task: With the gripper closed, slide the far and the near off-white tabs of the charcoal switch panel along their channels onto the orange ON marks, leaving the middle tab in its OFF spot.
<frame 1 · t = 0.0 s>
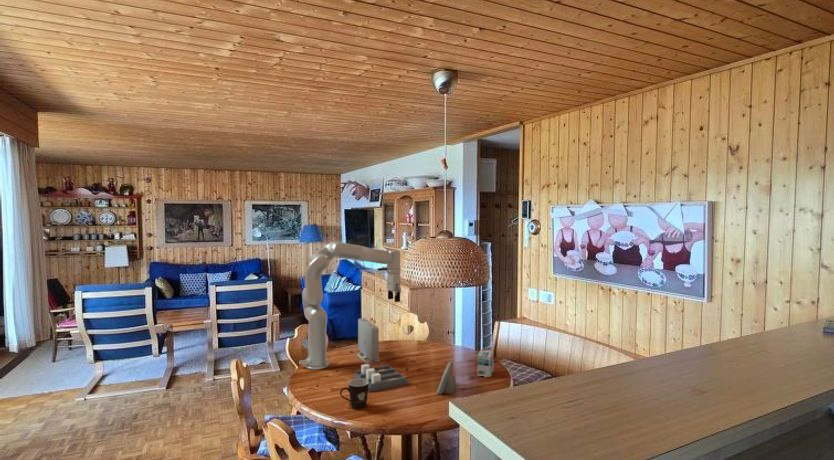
hand: (393, 300, 246), 31 cm above the table, tool pointing down, fingers open, 9 cm apart
switch panel: (380, 380, 205), on the table
middle tab: (370, 373, 203), point 4 cm above the table, slide at 0.0 cm
light bulb box: (485, 374, 214), on the table
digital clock: (445, 389, 195), on the table
network device: (368, 358, 239), on the table
coffee mug: (355, 406, 177), on the table
near tab: (376, 378, 197), point 4 cm above the table, slide at 0.0 cm
far tab: (365, 369, 209), point 4 cm above the table, slide at 0.0 cm
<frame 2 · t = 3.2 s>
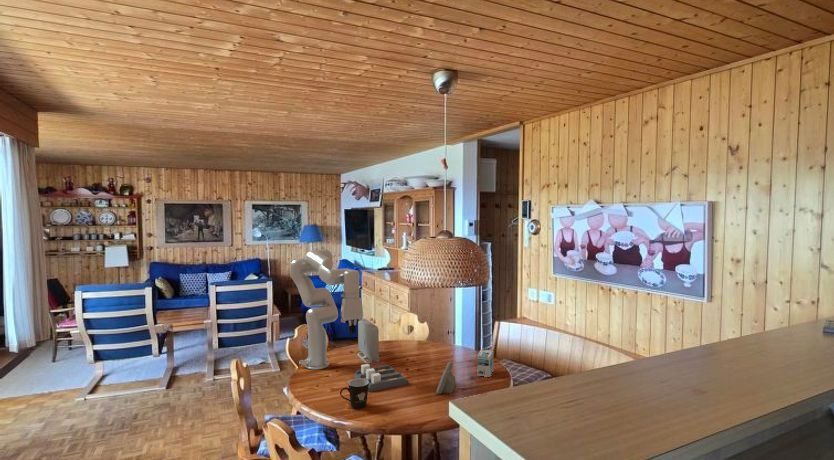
hand: (351, 333, 205), 23 cm above the table, tool pointing down, fingers closed
nothing on the table moved.
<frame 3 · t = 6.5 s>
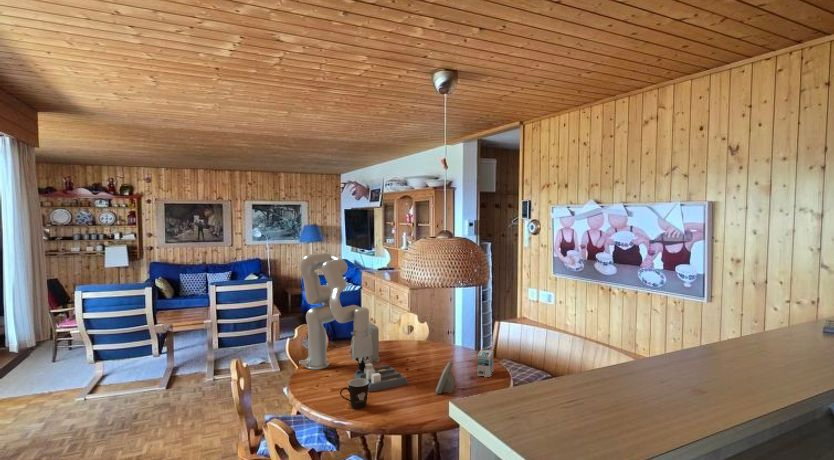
hand: (361, 370, 208), 4 cm above the table, tool pointing down, fingers closed
far tab: (368, 368, 210), point 4 cm above the table, slide at 1.6 cm, touching gripper
everything else where it was.
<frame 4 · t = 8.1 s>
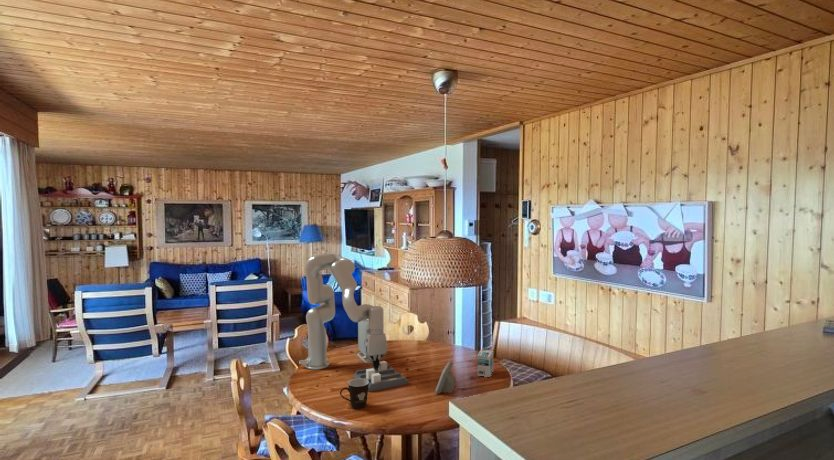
hand: (376, 367, 211), 4 cm above the table, tool pointing down, fingers closed
far tab: (382, 366, 213), point 4 cm above the table, slide at 9.2 cm, touching gripper
everything else where it was.
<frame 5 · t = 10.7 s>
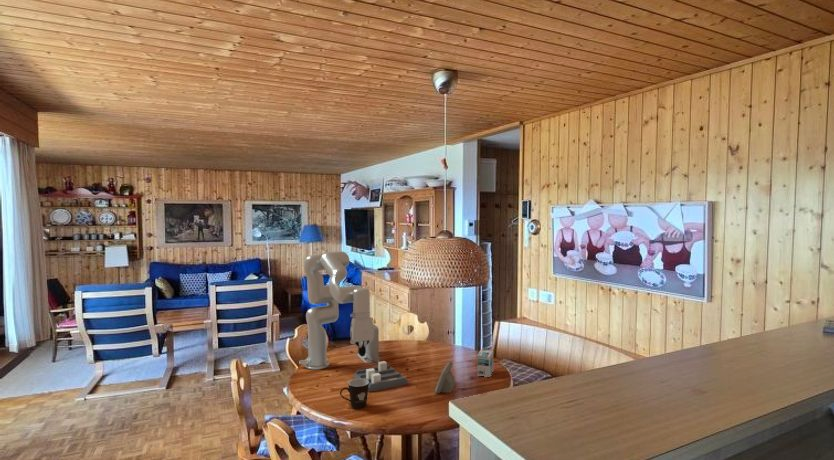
hand: (362, 355, 193), 16 cm above the table, tool pointing down, fingers closed
far tab: (382, 366, 213), point 4 cm above the table, slide at 9.1 cm
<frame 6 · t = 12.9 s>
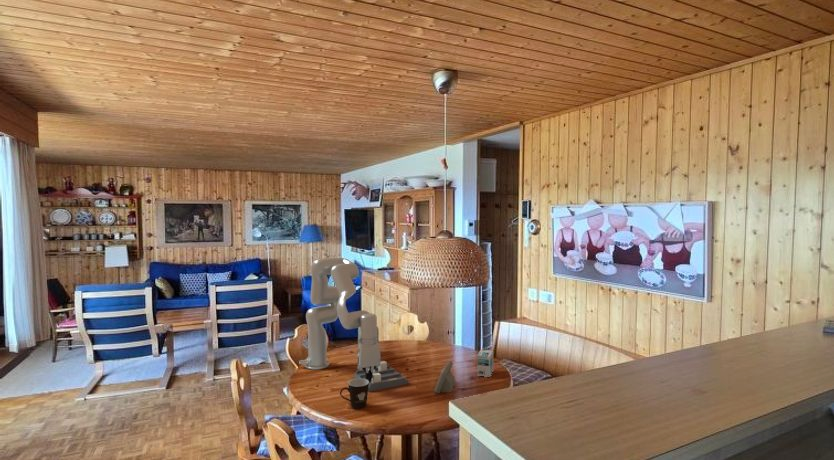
hand: (368, 380, 195), 4 cm above the table, tool pointing down, fingers closed
near tab: (376, 378, 197), point 4 cm above the table, slide at 0.1 cm, touching gripper
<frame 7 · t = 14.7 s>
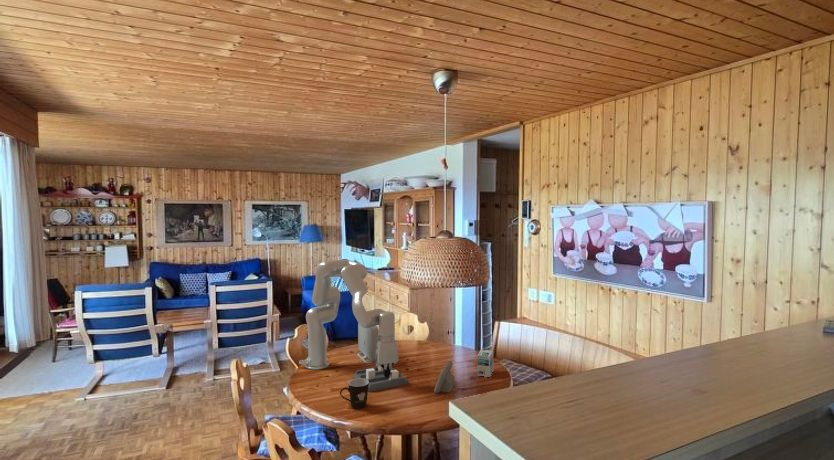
hand: (386, 376, 199), 4 cm above the table, tool pointing down, fingers closed
near tab: (393, 375, 201), point 4 cm above the table, slide at 9.1 cm, touching gripper
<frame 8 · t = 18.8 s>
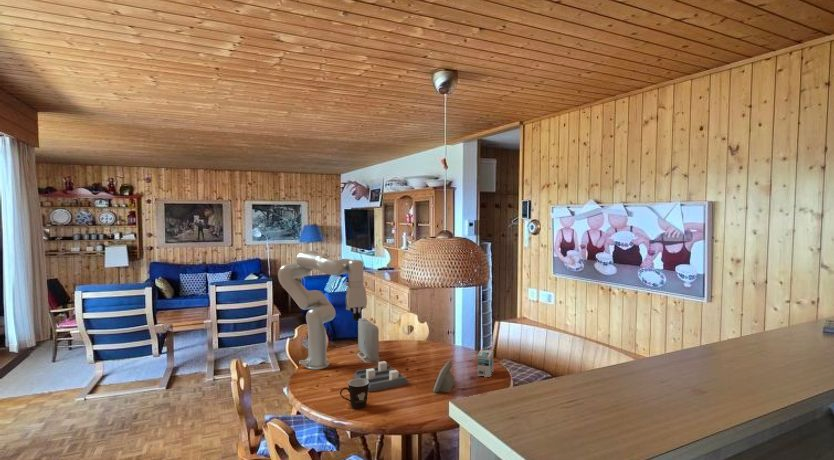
hand: (356, 320, 215), 27 cm above the table, tool pointing down, fingers closed
near tab: (393, 375, 201), point 4 cm above the table, slide at 9.1 cm
at the end: far tab slide at 9.1 cm; near tab slide at 9.1 cm; middle tab slide at 0.0 cm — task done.
